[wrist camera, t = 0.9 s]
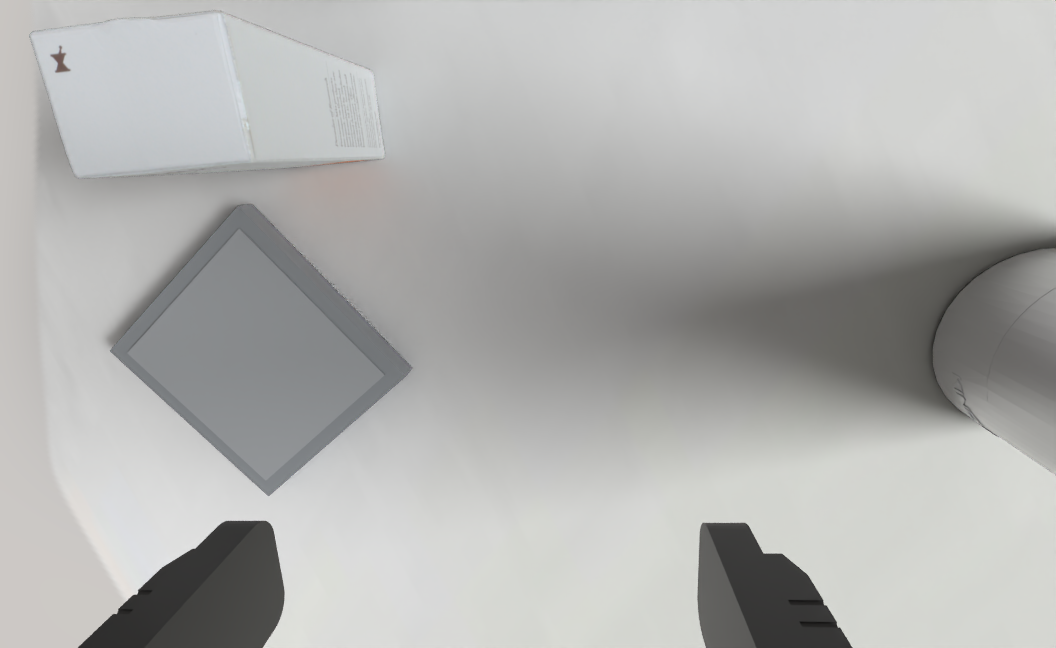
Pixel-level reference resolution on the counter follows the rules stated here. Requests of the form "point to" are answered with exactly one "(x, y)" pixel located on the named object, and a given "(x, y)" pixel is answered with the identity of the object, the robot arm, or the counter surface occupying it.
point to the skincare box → (202, 98)
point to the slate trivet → (259, 351)
